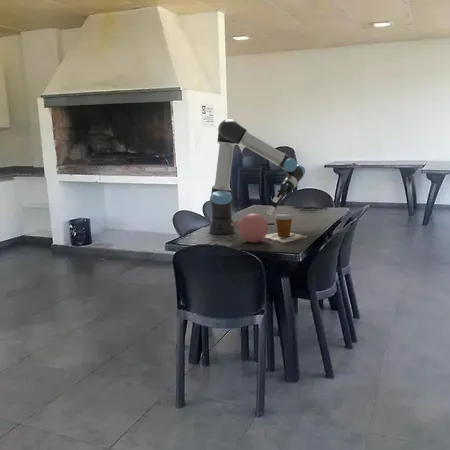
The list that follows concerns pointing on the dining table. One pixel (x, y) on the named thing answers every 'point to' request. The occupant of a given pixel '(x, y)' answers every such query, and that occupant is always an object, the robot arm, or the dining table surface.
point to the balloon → (252, 227)
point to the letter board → (284, 239)
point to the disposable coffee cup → (283, 224)
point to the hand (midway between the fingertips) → (271, 208)
